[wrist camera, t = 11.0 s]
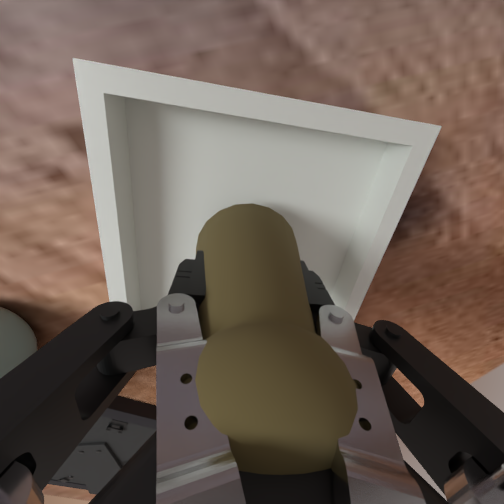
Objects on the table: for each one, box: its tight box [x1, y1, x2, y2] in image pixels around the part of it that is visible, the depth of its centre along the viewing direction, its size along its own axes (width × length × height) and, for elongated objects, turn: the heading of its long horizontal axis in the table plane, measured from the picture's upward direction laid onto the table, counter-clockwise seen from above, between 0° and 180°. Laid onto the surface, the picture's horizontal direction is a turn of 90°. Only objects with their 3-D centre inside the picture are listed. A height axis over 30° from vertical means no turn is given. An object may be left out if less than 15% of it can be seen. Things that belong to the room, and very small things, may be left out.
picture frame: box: [48, 396, 157, 494], centre depth 27 cm, size 13×2×18 cm
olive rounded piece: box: [183, 203, 363, 475], centre depth 10 cm, size 6×6×11 cm
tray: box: [73, 58, 442, 321], centre depth 15 cm, size 16×16×3 cm
